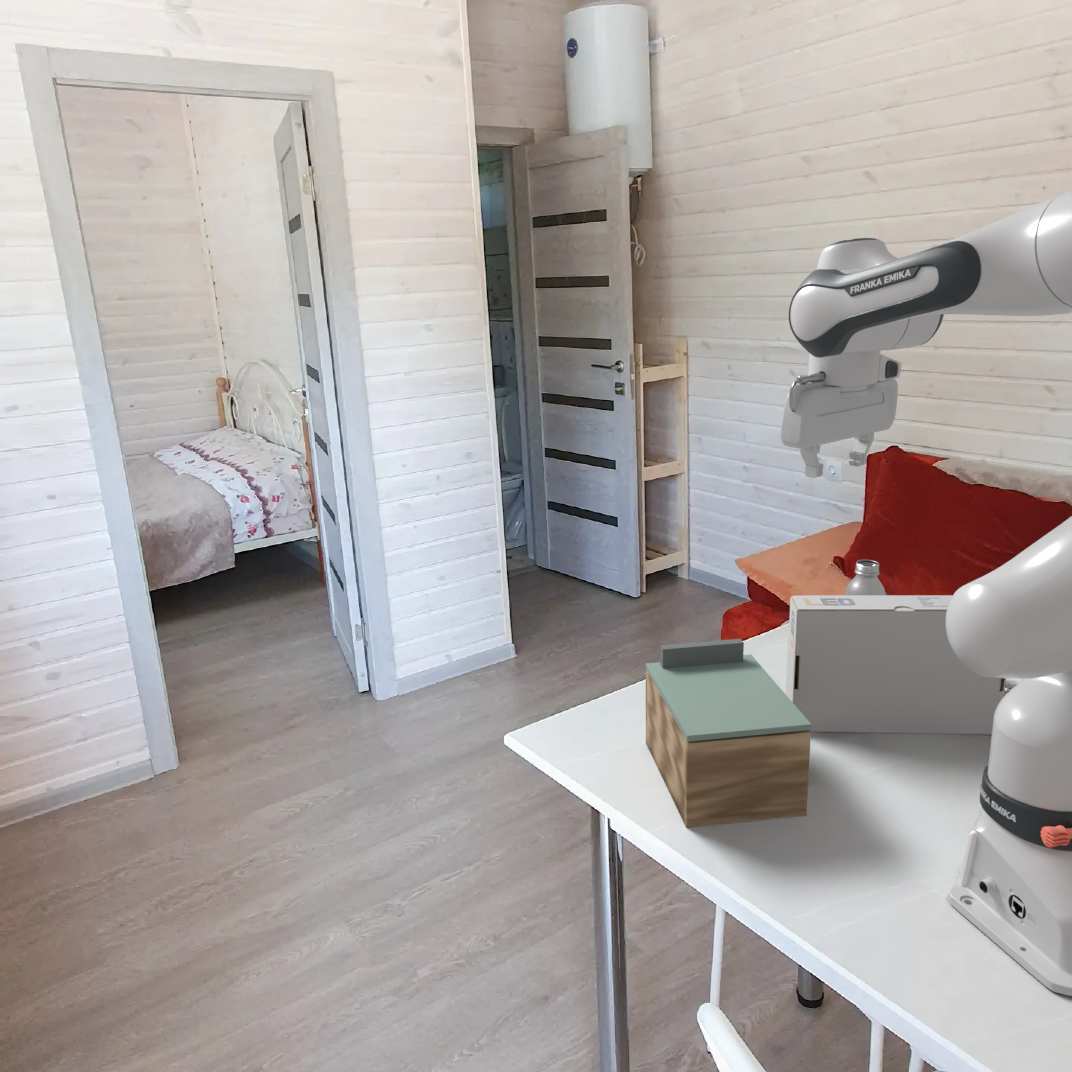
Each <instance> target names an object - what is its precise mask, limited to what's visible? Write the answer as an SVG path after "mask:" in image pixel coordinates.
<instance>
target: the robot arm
mask: <svg viewBox="0 0 1072 1072" xmlns="http://www.w3.org/2000/svg"><path fill="white" fill-rule="evenodd" d="M819 255H820V256H819V259H818V262H817V265H816V269H815V270H813V271H812V272H811V273H810V274H809V275H807V277H805V279H804V280H803V281H802V282H801V283H800V285H799V286H798V288H797V289H796V291H795V293H794V294H793V296H792V299H791V301H790V304H789V308H788V321H789V322H788V323H789V327H790V331H791V332H792V334H793V336H794V338H795V339H796V340H797V342H798V343H799V345H801V347H802V348H803V349H805V350H806V351H807V353H808V370H807V374H801V375H799V376H797V378H796V379H795V380H794V382H792V385H791V386H789V390H788V393H787V395H786V398H785V402H784V406H783V411H782V412H783V413H782V419H781V428H780V440H781V441H782V444H783V445H784V446H786V447H789V448H795V449H799V451H800V455H801V457H802V460H803V462H804V464H805V466H804V467H805V468H804V469H805V471H804V474H805V477H806V478H810V479H816V478H820V477H822V476H823V474H824V471H823V470H824V463H821V462H820V461H819V456H818V454H820V452H821V446H822V445H826V444H831V443H835V442H840V441H844V440H848V439H851V438H854V439H855V444H854V447H853V450H852V451H851V452H849V454H848V457H849V459H848V463H849V466H852V467H857V468H858V467H862V466H865V465H866V464H867V456H868V455H867V454H868V452H869V451H870V448H871V447H872V443H873V442H874V438H875V433H877V432H882V431H883V432H884V431H885V430H889V429H891V427H892V425H893V424H894V421H895V420H896V419H895V418H896V413H897V404H898V396H899V386H898V381H897V380H896V379H897V378H899V377H900V376H901V373H902V363H901V362H900V361H898V360H897V359H893V358H891V357H889V356H887V355H884V354H883V353H882V354H881V351H889V350H891V351H892V350H902V349H909V348H910V349H911V348H914V347H915V348H916V347H917V346H922V345H925V344H927V343H928V342H929V341H930V340H931V339H932V338H933V337H934V336H935V335H936V334H937V332H938V331H939V329H940V327H941V324H942V322H943V320H944V316H945V315H979V316H1002V317H1003V316H1004V317H1005V316H1008V317H1012V316H1013V317H1034V316H1035V317H1039V316H1041V317H1043V316H1053V315H1055V316H1056V315H1062V314H1063V315H1064V314H1065V315H1066V314H1070V313H1071V314H1072V189H1070V190H1067V191H1064V192H1062V193H1059V194H1056V195H1054V196H1052V197H1049V198H1047V199H1044V200H1043V201H1039V202H1038V203H1035V204H1033V205H1031V206H1028V207H1026V208H1024V209H1021V210H1018V211H1017V212H1014V213H1012V214H1009V215H1008V216H1006V217H1003V218H1001V219H999V220H996V221H994V222H992V223H990V224H987V225H985V226H982V227H979V228H978V229H975V230H973V231H970V232H967V233H965V234H963V235H960V236H957V237H956V238H955V237H954V238H953V239H951V240H948V241H946V242H943V243H941V244H939V245H936V246H934V247H931V248H927V249H924V250H921V251H919V252H915V253H913V254H910V255H906V256H903V257H900V258H898V257H895V255H893V254H892V253H891V252H890V251H889V249H888V247H887V245H886V244H885V242H884V241H883V240H881V239H878V238H873V237H860V238H859V237H858V238H852V239H845V240H839V241H836V242H833V243H831V244H828V246H826V247H824V248H823V249H822V251H821V253H820V254H819ZM946 633H947V637H948V640H949V643H950V645H951V647H952V649H953V651H954V653H955V654H956V656H957V657H958V658H959V660H960V661H961V662H962V663H963V664H964V665H965V666H966V667H967V668H968V669H970V670H971V671H973V672H974V673H976V674H978V675H981V676H984V677H994V678H1006V679H1014V680H1015V679H1018V680H1020V681H1019V682H1018V683H1017V684H1016V685H1015V686H1014V687H1012V688H1011V689H1009V691H1008V692H1007V693H1006V694H1004V697H1003V698H1002V700H1001V701H1000V703H999V704H998V706H997V708H996V710H995V714H994V720H993V728H992V734H991V737H990V738H991V740H990V748H989V758H988V764H987V765H986V766H985V767H984V769H983V772H982V778H981V779H980V785H979V794H980V795H979V803H980V805H981V808H980V811H979V814H978V816H977V818H976V820H975V822H974V824H973V826H972V828H971V829H970V831H969V835H968V837H967V842H966V845H965V849H964V854H963V857H962V862H961V866H960V870H959V874H958V879H957V881H956V882H955V883H954V884H953V885H952V887H950V888H949V892H948V894H947V901H948V903H949V904H950V905H951V906H952V907H954V909H955V910H957V911H958V912H959V913H960V914H961V915H962V916H963V917H965V918H966V919H967V920H969V922H970V923H972V924H973V925H974V926H975V927H976V928H977V929H979V930H980V931H981V932H982V933H983V934H984V935H986V936H987V937H988V938H989V939H990V940H991V941H992V942H994V943H995V944H996V945H997V946H998V947H1000V948H1001V949H1002V950H1003V951H1004V952H1005V953H1007V955H1009V956H1010V958H1012V959H1014V960H1015V961H1016V962H1017V963H1018V964H1019V965H1020V966H1022V968H1024V969H1025V970H1026V971H1027V972H1028V973H1030V974H1031V975H1032V976H1033V977H1034V978H1035V979H1036V980H1038V981H1039V983H1041V984H1042V985H1044V987H1046V988H1047V989H1048V990H1050V991H1052V992H1053V993H1058V994H1060V995H1061V994H1062V995H1065V996H1069V997H1072V515H1071V516H1069V517H1068V518H1067V519H1066V520H1064V521H1063V522H1062V523H1061V524H1059V525H1057V526H1056V527H1055V528H1053V529H1051V531H1048V533H1046V534H1045V535H1043V536H1042V537H1041V538H1039V539H1038V540H1036V541H1035V542H1034V543H1033V542H1032V543H1031V545H1029V546H1028V547H1026V548H1024V550H1022V551H1021V552H1019V553H1018V554H1017V555H1015V556H1014V557H1013V558H1011V559H1010V560H1008V561H1007V562H1005V563H1003V564H1002V565H1001V566H999V567H997V568H996V569H994V570H991V571H990V572H989V573H986V574H985V575H983V576H981V577H978V578H976V579H974V580H971V581H970V582H967V583H966V584H964V585H962V586H961V587H959V588H958V589H957V590H955V592H953V596H952V598H951V600H950V602H949V605H948V608H947V612H946Z"/></svg>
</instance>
